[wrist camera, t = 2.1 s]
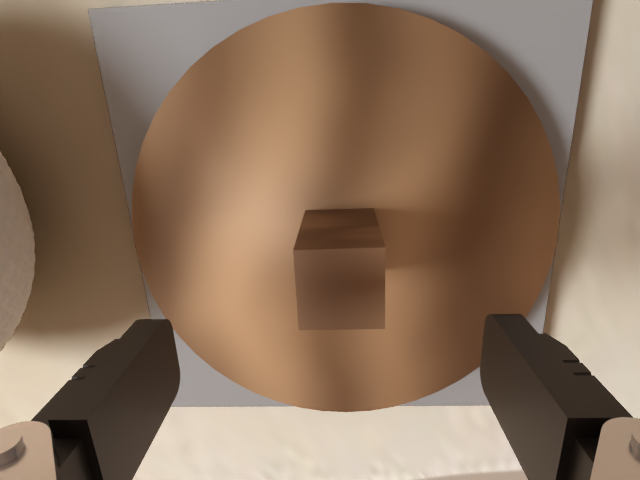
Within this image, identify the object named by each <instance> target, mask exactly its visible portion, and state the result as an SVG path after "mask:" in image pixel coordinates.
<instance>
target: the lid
mask: <svg viewBox="0 0 640 480" xmlns="http://www.w3.org/2000/svg"><path fill="white" fill-rule="evenodd" d="M559 218H560V196H559V180H558V175H557V170H556V166H555V161H554V156H553V152H552V149H551V146H550V144H549V141H548V138H547V136H546V133H545V130H544V128H543V125H542V123H541V121H540V119H539V117H538V116H537V114H536V112H535V110H534V108H533V107H532V105H531V103H530V101H529V99H528V98H527V96H526V95H525V94H524V92H523V91H522V90H521V88H520V87H519V86H518V85H517V83H516V82H515V81H514V79H513V78H512V77H511V76H510V74H509V73H508V72H507V71H506V70H505V69H504V68H503V67H502V66H501V65H500V64H499V63H497V62H496V61H495V60H494V59H493V58H492V57H491V56H490V55H489V54H488V53H487V52H486V51H485V50H483V49H482V48H480V47H479V46H477V45H476V44H475V43H473V42H472V41H470V40H469V39H467V38H466V37H465V36H463V35H462V34H460V33H459V32H457V31H455V30H453V29H451V28H449V27H446V26H444V25H442V24H440V23H438V22H436V21H434V20H432V19H430V18H427V17H424V16H421V15H418V14H415V13H412V12H409V11H405V10H402V9H399V8H393V7H387V6H381V5H375V4H369V3H327V4H320V5H312V6H305V7H299V8H295V9H292V10H289V11H285V12H282V13H278V14H275V15H272V16H268V17H266V18H264V19H262V20H260V21H257V22H255V23H253V24H251V25H249V26H246V27H244V28H242V29H240V30H238V31H237V32H235V33H234V34H232V35H231V36H229V37H227V38H226V39H224V40H223V41H221V42H220V43H218V44H217V45H215V46H214V47H212V48H211V49H210V50H209V51H208V52H207V53H205V54H204V55H203V56H202V57H201V58H200V59H199V60H198V61H196V62H195V63H194V64H193V65H192V66H191V67H190V68H189V69H188V70H187V71H186V72H185V74H184V75H183V76H182V77H181V78H180V79H179V81H178V82H177V83H176V84H175V85H174V87H173V88H172V89H171V90H170V92H169V93H168V95H167V96H166V98H165V100H164V101H163V103H162V104H161V106H160V108H159V109H158V111H157V112H156V114H155V116H154V118H153V120H152V122H151V125H150V127H149V129H148V132H147V134H146V136H145V138H144V141H143V144H142V147H141V151H140V154H139V158H138V161H137V165H136V169H135V176H134V184H133V191H132V225H133V232H134V240H135V247H136V251H137V254H138V258H139V262H140V265H141V269H142V272H143V275H144V277H145V280H146V282H147V284H148V287H149V289H150V292H151V294H152V296H153V298H154V300H155V301H156V303H157V305H158V307H159V308H160V310H161V312H162V314H163V315H164V317H165V318H166V319H168V320H169V321H170V322H171V324H172V327H173V329H174V330H175V332H176V333H177V334H178V336H179V337H180V338H181V339H182V340H183V341H184V342H185V343H186V344H187V345H188V346H189V347H190V348H191V349H192V350H193V352H194V353H195V354H197V355H198V356H199V357H200V358H201V359H203V360H204V361H205V362H206V363H207V364H208V365H210V366H211V367H212V368H213V369H215V370H216V371H218V372H219V373H221V374H222V375H224V376H225V377H227V378H228V379H230V380H231V381H233V382H235V383H237V384H239V385H240V386H242V387H244V388H246V389H248V390H250V391H252V392H254V393H257V394H259V395H262V396H264V397H267V398H270V399H272V400H275V401H278V402H282V403H285V404H289V405H293V406H297V407H301V408H308V409H314V410H321V411H337V412H353V411H370V410H376V409H382V408H388V407H394V406H398V405H401V404H405V403H408V402H412V401H416V400H418V399H421V398H423V397H426V396H428V395H431V394H433V393H436V392H438V391H440V390H442V389H444V388H446V387H448V386H450V385H452V384H454V383H455V382H457V381H459V380H461V379H462V378H464V377H465V376H467V375H468V374H470V373H471V372H472V371H474V370H475V369H477V368H478V367H480V362H481V353H482V343H483V333H484V324H485V319H486V317H487V315H489V314H521V315H523V316H524V317H525V318H526V316H527V315H528V313H529V312H530V310H531V309H532V307H533V305H534V303H535V301H536V299H537V297H538V295H539V294H540V292H541V290H542V288H543V286H544V283H545V280H546V277H547V275H548V272H549V269H550V267H551V264H552V261H553V256H554V252H555V247H556V243H557V238H558V230H559Z"/></svg>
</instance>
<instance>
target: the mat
mask: <svg viewBox="0 0 640 480" xmlns="http://www.w3.org/2000/svg"><path fill="white" fill-rule="evenodd" d="M327 3H369V4H375V5H381V6H387V7H393V8H399V9H402V10H405V11H409V12H412V13H415V14H418V15H421V16H424V17H427V18H430V19H432V20H434V21H436V22H438V23H440V24H442V25H444V26H446V27H449V28H451V29H453V30H455V31H457V32H459V33H460V34H462V35H463V36H465V37H466V38H467V39H469V40H470V41H472V42H473V43H475V44H476V45H477V46H479V47H480V48H482V49H483V50H485V51H486V52H487V53H488V54H489V55H490V56H491V57H492V58H493V59H494V60H495V61H496V62H497V63H499V64H500V65H501V66H502V67H503V68H504V69H505V70H506V71H507V72H508V73H509V74H510V76H511V77H512V78H513V79H514V81H515V82H516V83H517V85H518V86H519V87H520V88H521V90H522V91H523V92H524V94H525V95H526V96H527V98H528V99H529V101H530V103H531V105H532V107H533V108H534V110H535V112H536V114H537V116H538V117H539V119H540V121H541V123H542V125H543V128H544V130H545V133H546V136H547V138H548V141H549V144H550V146H551V149H552V152H553V156H554V161H555V166H556V170H557V175H558V180H559V196H560V215H561V209H562V202H563V195H564V189H565V182H566V176H567V169H568V162H569V156H570V149H571V143H572V136H573V129H574V123H575V116H576V109H577V103H578V96H579V90H580V83H581V76H582V70H583V63H584V57H585V50H586V43H587V37H588V30H589V23H590V17H591V10H592V4H593V0H223V1H207V2H191V3H175V4H159V5H143V6H127V7H111V8H95V9H88V13H89V18H90V23H91V28H92V33H93V38H94V43H95V47H96V52H97V57H98V62H99V67H100V72H101V77H102V82H103V87H104V91H105V96H106V101H107V106H108V111H109V116H110V121H111V126H112V131H113V135H114V140H115V145H116V150H117V155H118V160H119V165H120V170H121V175H122V179H123V184H124V189H125V194H126V199H127V204H128V209H129V214H130V219H131V223H132V191H133V184H134V176H135V169H136V165H137V161H138V158H139V154H140V151H141V147H142V144H143V141H144V138H145V136H146V134H147V132H148V129H149V127H150V125H151V122H152V120H153V118H154V116H155V114H156V112H157V111H158V109H159V108H160V106H161V104H162V103H163V101H164V100H165V98H166V96H167V95H168V93H169V92H170V90H171V89H172V88H173V87H174V85H175V84H176V83H177V82H178V81H179V79H180V78H181V77H182V76H183V75H184V74H185V72H186V71H187V70H188V69H189V68H190V67H191V66H192V65H193V64H194V63H195V62H196V61H198V60H199V59H200V58H201V57H202V56H203V55H204V54H205V53H207V52H208V51H209V50H210V49H211V48H212V47H214V46H215V45H217V44H218V43H220V42H221V41H223V40H224V39H226V38H227V37H229V36H231V35H232V34H234V33H235V32H237V31H238V30H240V29H242V28H244V27H246V26H249V25H251V24H253V23H255V22H257V21H260V20H262V19H264V18H266V17H268V16H272V15H275V14H278V13H282V12H285V11H289V10H292V9H295V8H299V7H305V6H312V5H320V4H327ZM559 222H560V218H559ZM132 228H133V225H132ZM133 233H134V232H133ZM555 248H556V247H555ZM554 255H555V252H554ZM553 262H554V256H553V261H552V264H551V267H550V269H549V272H548V275H547V277H546V280H545V283H544V286H543V288H542V290H541V292H540V294H539V295H538V297H537V299H536V301H535V303H534V305H533V307H532V309H531V310H530V312H529V313H528V315H527V316H526V320H527V321H528V322H529V323H530V324H531V325H532V327H533V328H534V329H535V330H536V331H537V332H538V333H539V334H543V328H544V321H545V314H546V308H547V301H548V295H549V288H550V281H551V275H552V268H553ZM139 263H140V262H139ZM140 268H141V265H140ZM141 272H142V269H141ZM142 277H143V282H144V287H145V292H146V297H147V302H148V307H149V312H150V316H151V319H166V318H165V317H164V315H163V314H162V312H161V310H160V308H159V307H158V305H157V303H156V301H155V300H154V298H153V296H152V294H151V292H150V289H149V287H148V284H147V282H146V280H145V277H144V275H143V272H142ZM173 332H174V338H175V344H176V349H177V355H178V361H179V367H180V385H179V390H178V393H177V395H176V398H175V399H174V401H173V403H172V405H171V407H244V406H293V405H289V404H285V403H282V402H278V401H275V400H272V399H270V398H267V397H264V396H262V395H259V394H257V393H254V392H252V391H250V390H248V389H246V388H244V387H242V386H240V385H239V384H237V383H235V382H233V381H231V380H230V379H228V378H227V377H225V376H224V375H222V374H221V373H219V372H218V371H216V370H215V369H213V368H212V367H211V366H210V365H208V364H207V363H206V362H205V361H204V360H203V359H201V358H200V357H199V356H198V355H197V354H195V353H194V352H193V350H192V349H191V348H190V347H189V346H188V345H187V344H186V343H185V342H184V341H183V340H182V339H181V338H180V337H179V336H178V334H177V333H176V332H175V330H174V329H173ZM474 405H490V404H489V402H488V400H487V398H486V396H485V394H484V391H483V388H482V384H481V379H480V367H478V368H477V369H475V370H474V371H472V372H471V373H470V374H468V375H467V376H465V377H464V378H462V379H461V380H459V381H457V382H455V383H454V384H452V385H450V386H448V387H446V388H444V389H442V390H440V391H438V392H436V393H433V394H431V395H428V396H426V397H423V398H421V399H418V400H416V401H412V402H408V403H405V404H401V405H398V406H474Z"/></svg>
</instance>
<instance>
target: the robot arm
mask: <svg viewBox="0 0 640 480" xmlns="http://www.w3.org/2000/svg"><path fill="white" fill-rule="evenodd" d="M480 379H481V384H482V388H483V391H484V394H485V396H486V398H487V400H488V402H489V404H490V406H491V408H492V410H493V412H494V414H495V415H496V417H497V419H498V421H499V423H500V425H501V427H502V429H503V431H504V433H505V435H506V437H507V439H508V441H509V443H510V445H511V447H512V449H513V451H514V453H515V455H516V457H517V459H518V461H519V463H520V465H521V467H522V469H523V470H524V472H525V474H526V476H527V478H528V480H640V419H638V418H633V417H632V416H631V415H630V414H629V413H628V412H627V410H626V409H625V408H624V407H623V406H622V405H621V404H620V403H619V402H618V401H617V400H616V399H615V398H614V397H613V396H612V394H611V393H610V392H609V391H608V390H607V389H606V388H605V387H604V386H603V385H602V384H601V383H600V382H599V381H598V379H597V378H596V377H595V376H591V372H590V371H589V370H588V369H587V368H586V367H585V366H584V365H583V363H580V362H579V359H578V358H577V357H576V356H575V355H574V354H573V353H572V352H571V351H570V350H569V349H568V347H567V346H566V345H564V344H562V343H561V342H559V341H557V340H556V339H554V338H552V337H551V336H549V335H547V334H539V333H538V332H537V331H536V330H535V329H534V328H533V327H532V325H531V324H530V323H529V322H528V321H527V320H526V318H525V317H524V316H523V315H521V314H489V315H487V317H486V319H485V324H484V333H483V343H482V353H481V362H480ZM179 385H180V367H179V361H178V355H177V349H176V344H175V338H174V332H173V327H172V324H171V322H170V321H169V320H168V319H139V320H136V321H135V322H134V323H133V324H132V326H131V327H130V328H129V329H128V330H127V331H126V332H125V333H124V335H123V336H122V337H121V338H120V339H115V340H113V341H112V342H110V343H109V344H107V345H105V346H104V347H102V348H101V349H99V350H97V351H96V352H95V353H94V354H93V355H92V356H91V357H90V358H89V359H88V360H87V362H86V363H85V364H84V365H83V368H80V369H79V370H78V371H77V372H76V373H75V374H74V375H73V376H72V380H69V381H68V382H67V383H66V384H65V385H64V386H63V387H62V388H61V389H60V390H59V391H58V392H57V393H56V395H55V396H54V397H53V398H52V399H51V400H50V401H49V402H48V403H47V404H46V405H45V406H44V407H43V408H42V409H41V411H40V412H39V413H38V414H37V415H36V416H35V417H34V418H33V419H32V420H31V421H26V422H20V423H16V424H12V425H9V426H6V427H3V428H1V429H0V480H132V479H133V477H134V475H135V473H136V471H137V469H138V467H139V466H140V464H141V462H142V460H143V458H144V456H145V454H146V452H147V450H148V449H149V447H150V445H151V443H152V441H153V439H154V437H155V435H156V433H157V432H158V430H159V428H160V426H161V424H162V422H163V420H164V418H165V416H166V415H167V413H168V411H169V409H170V407H171V405H172V403H173V401H174V399H175V398H176V395H177V393H178V390H179Z"/></svg>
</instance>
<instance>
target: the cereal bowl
mask: <svg viewBox="0 0 640 480" xmlns="http://www.w3.org/2000/svg"><path fill="white" fill-rule="evenodd" d="M34 249H35V242H34V232H33V230H32V222H31V220H30V214H29V212H28V207H27V205H26V203H25V202H24V197H23V194H22V192H21V187H20V186H19V184H18V183H17V182H16V178H15V176H14V175H13V173H12V170H11V168H10V167H9V166H8V164H7V161H6V159H5V158H4V157H3V156H2V153H1V151H0V351H1V350H2V349H3V348H4V346H5V344H6V342H7V341H8V340H9V339H10V338H11V337H12V336H13V334H14V331H15V328H16V327H17V326H18V324H19V323H20V322H21V318H22V314H23V313H24V311H25V309H26V306H27V301H28V299H29V297H30V294H31V291H32V290H31V286H32V281H33V279H34V265H35V258H36V257H35V252H34Z"/></svg>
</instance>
